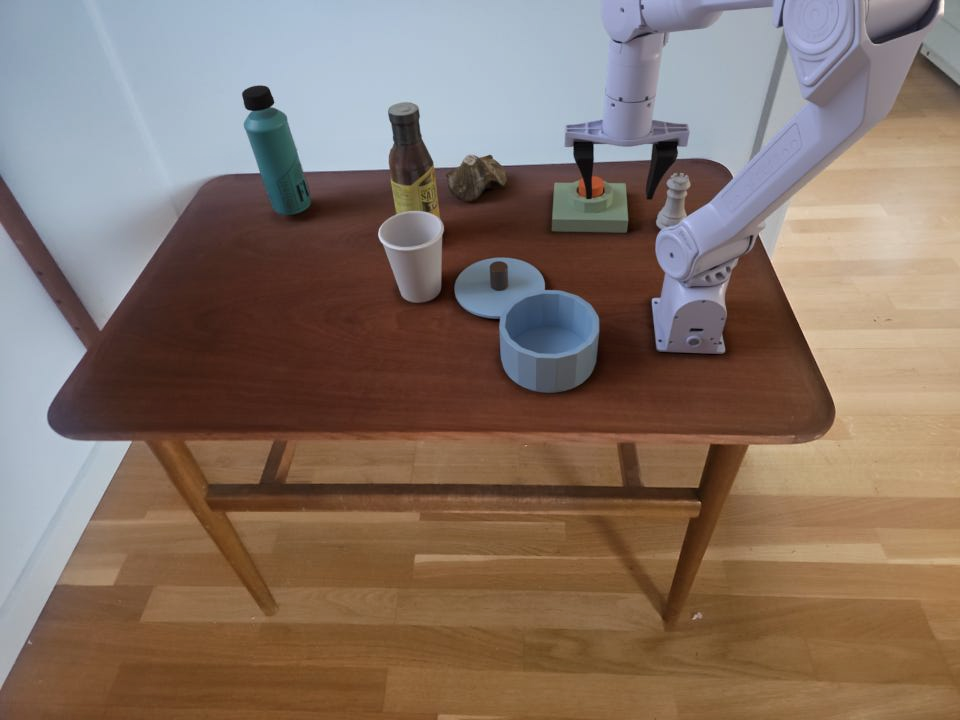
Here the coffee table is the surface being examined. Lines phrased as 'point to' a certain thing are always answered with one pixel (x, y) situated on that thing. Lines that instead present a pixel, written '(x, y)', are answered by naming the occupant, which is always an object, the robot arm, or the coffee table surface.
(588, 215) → the switch block
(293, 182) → the beverage bottle
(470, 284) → the tin lid
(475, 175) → the fossilized seashell
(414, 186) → the sauce bottle
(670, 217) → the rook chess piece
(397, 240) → the dixie cup
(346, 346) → the coffee table surface
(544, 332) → the tin
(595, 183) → the button
